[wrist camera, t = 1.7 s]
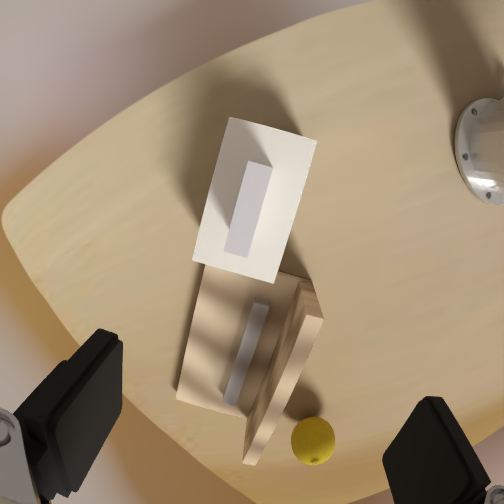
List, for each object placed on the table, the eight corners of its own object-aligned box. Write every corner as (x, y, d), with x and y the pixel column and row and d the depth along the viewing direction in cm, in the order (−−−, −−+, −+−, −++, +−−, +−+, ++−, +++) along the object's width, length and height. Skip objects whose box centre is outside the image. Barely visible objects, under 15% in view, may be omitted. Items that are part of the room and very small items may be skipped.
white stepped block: (238, 127, 30) (219, 104, 19) (307, 146, 30) (328, 135, 19) (207, 241, 33) (175, 281, 22) (273, 259, 33) (273, 309, 22)
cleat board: (210, 251, 34) (189, 281, 25) (311, 280, 34) (324, 319, 25) (177, 393, 39) (159, 440, 30) (258, 414, 39) (255, 465, 30)
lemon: (338, 417, 39) (348, 460, 31) (309, 437, 40) (313, 480, 32) (312, 398, 38) (318, 443, 30) (281, 420, 39) (282, 465, 31)
